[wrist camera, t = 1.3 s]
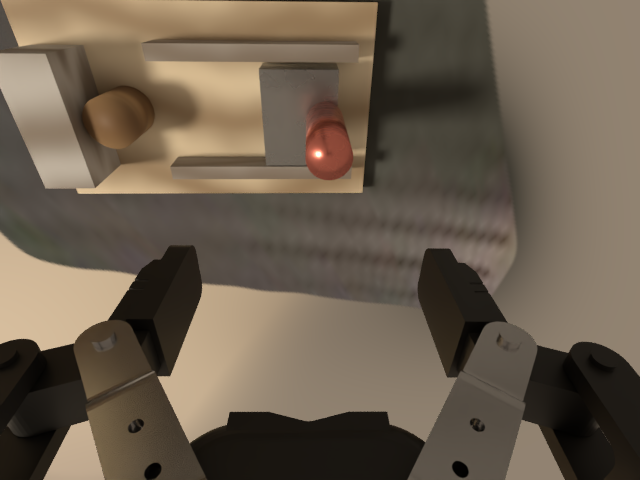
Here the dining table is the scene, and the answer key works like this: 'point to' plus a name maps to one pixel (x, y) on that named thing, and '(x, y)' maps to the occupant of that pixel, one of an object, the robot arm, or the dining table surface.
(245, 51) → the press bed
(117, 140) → the nut
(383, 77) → the dining table surface
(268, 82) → the plate with copper rod
